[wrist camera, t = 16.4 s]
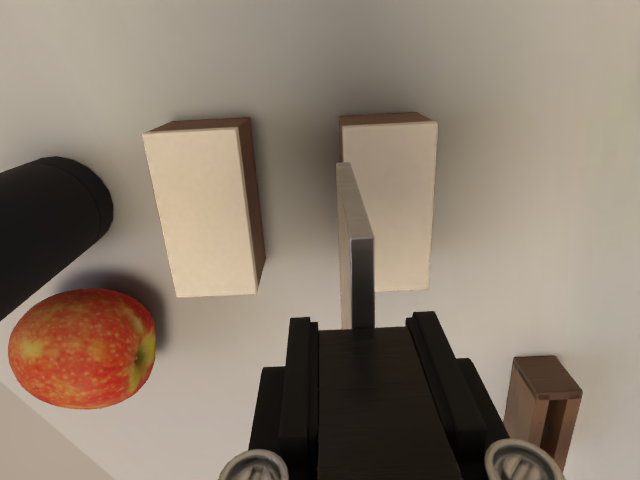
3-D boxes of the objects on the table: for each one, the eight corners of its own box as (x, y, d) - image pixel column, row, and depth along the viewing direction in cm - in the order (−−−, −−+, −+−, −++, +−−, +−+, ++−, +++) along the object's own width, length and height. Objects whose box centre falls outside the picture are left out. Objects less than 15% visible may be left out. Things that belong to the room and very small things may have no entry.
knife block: (513, 357, 34) (537, 392, 31) (555, 355, 34) (583, 390, 31) (499, 449, 38) (518, 490, 35) (536, 447, 38) (559, 489, 35)
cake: (171, 121, 27) (141, 133, 22) (249, 116, 27) (235, 128, 22) (197, 262, 31) (176, 298, 26) (265, 259, 31) (256, 294, 26)
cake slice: (338, 116, 27) (342, 127, 22) (417, 112, 27) (438, 122, 22) (343, 258, 31) (347, 293, 26) (411, 255, 31) (428, 289, 26)
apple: (167, 362, 34) (126, 444, 27) (60, 349, 34) (-11, 429, 26) (169, 275, 31) (123, 342, 24) (52, 260, 31) (-32, 323, 23)
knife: (313, 163, 17) (304, 395, 5) (372, 160, 17) (498, 386, 5) (323, 328, 20) (331, 710, 8) (373, 325, 20) (452, 706, 8)
